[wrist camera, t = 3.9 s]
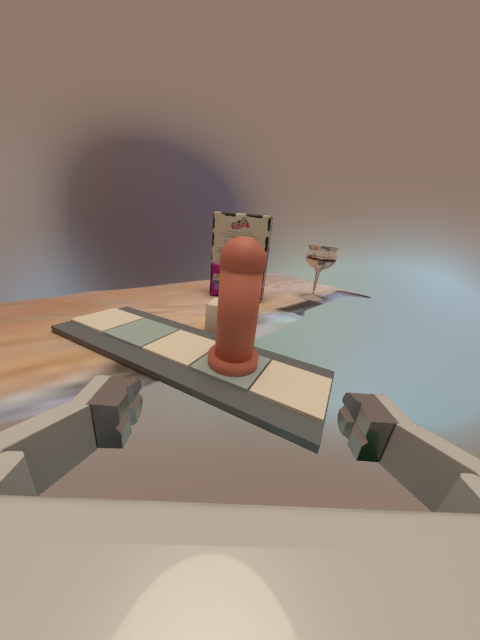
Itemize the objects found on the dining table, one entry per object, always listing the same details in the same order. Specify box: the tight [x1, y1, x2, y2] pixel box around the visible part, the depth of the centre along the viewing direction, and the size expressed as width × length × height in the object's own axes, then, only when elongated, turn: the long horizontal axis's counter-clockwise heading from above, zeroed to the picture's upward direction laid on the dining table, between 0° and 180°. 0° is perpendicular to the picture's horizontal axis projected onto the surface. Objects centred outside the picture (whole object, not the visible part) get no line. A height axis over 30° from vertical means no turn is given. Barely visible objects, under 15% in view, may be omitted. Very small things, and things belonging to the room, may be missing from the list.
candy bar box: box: [210, 212, 273, 302], centre depth 47 cm, size 11×5×16 cm, turn 78°
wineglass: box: [302, 245, 338, 301], centre depth 53 cm, size 7×7×12 cm
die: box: [205, 297, 218, 334], centre depth 31 cm, size 4×4×4 cm
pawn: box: [208, 236, 266, 377], centre depth 20 cm, size 5×5×12 cm
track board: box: [51, 307, 334, 453], centre depth 24 cm, size 10×30×1 cm, turn 63°
